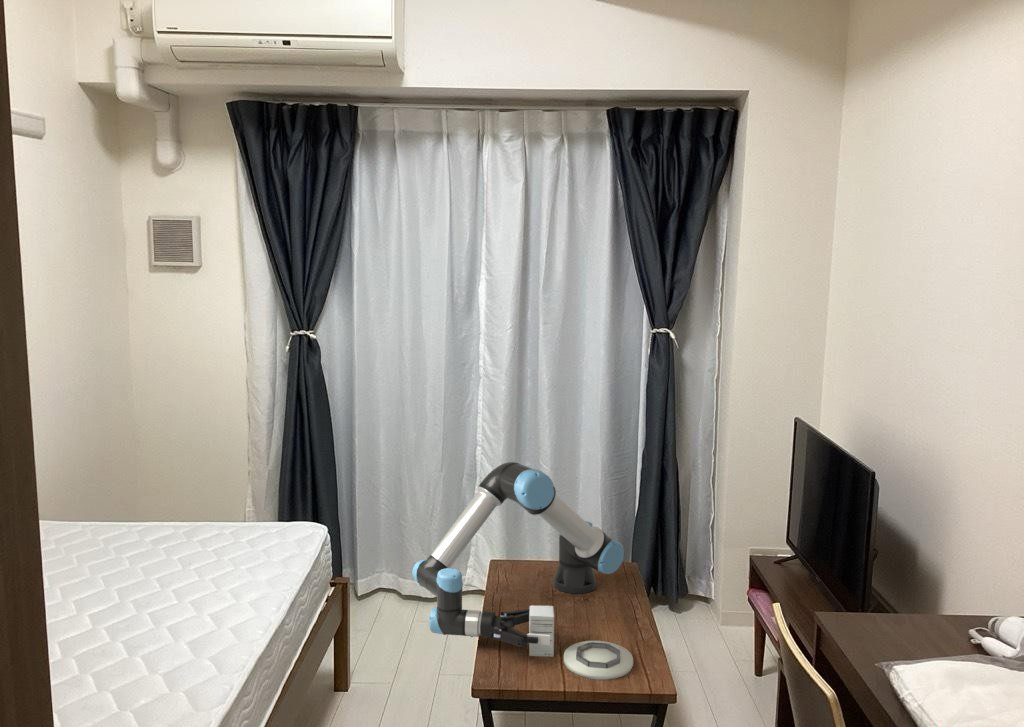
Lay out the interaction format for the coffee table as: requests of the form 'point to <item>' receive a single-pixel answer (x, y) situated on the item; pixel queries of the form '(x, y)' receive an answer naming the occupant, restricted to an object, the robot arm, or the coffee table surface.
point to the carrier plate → (598, 656)
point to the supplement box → (541, 629)
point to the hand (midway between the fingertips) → (552, 629)
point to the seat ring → (598, 664)
